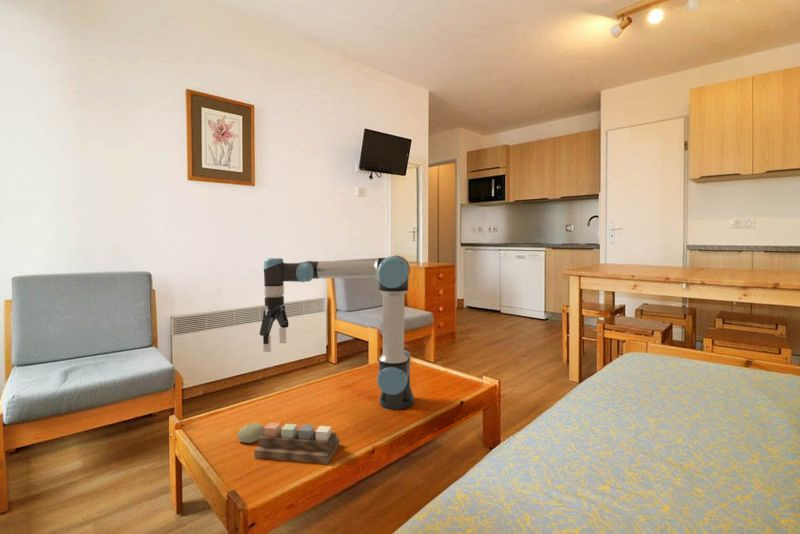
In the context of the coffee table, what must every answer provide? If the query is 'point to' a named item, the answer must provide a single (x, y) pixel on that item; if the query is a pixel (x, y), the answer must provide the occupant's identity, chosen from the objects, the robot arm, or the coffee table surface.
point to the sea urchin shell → (250, 433)
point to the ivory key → (323, 433)
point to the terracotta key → (272, 430)
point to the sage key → (289, 431)
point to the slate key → (306, 432)
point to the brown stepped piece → (297, 448)
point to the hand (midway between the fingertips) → (275, 347)
